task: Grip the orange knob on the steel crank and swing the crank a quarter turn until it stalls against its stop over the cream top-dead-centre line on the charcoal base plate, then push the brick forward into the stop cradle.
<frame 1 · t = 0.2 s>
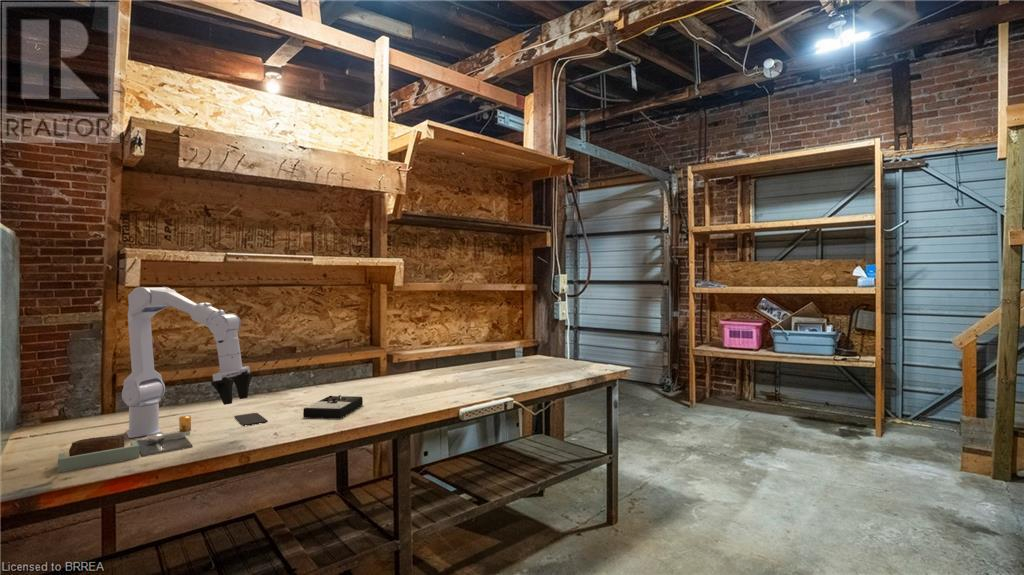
hand: (236, 401, 146), 11 cm above the table, tool pointing down, fingers open, 7 cm apart
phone: (250, 421, 165), on the table
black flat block: (334, 412, 176), on the table
brick: (97, 457, 130), on the table
crank: (169, 428, 142), point 4 cm above the table, hinge at 90.0°
stop cradle: (99, 460, 127), on the table
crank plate: (163, 445, 139), on the table
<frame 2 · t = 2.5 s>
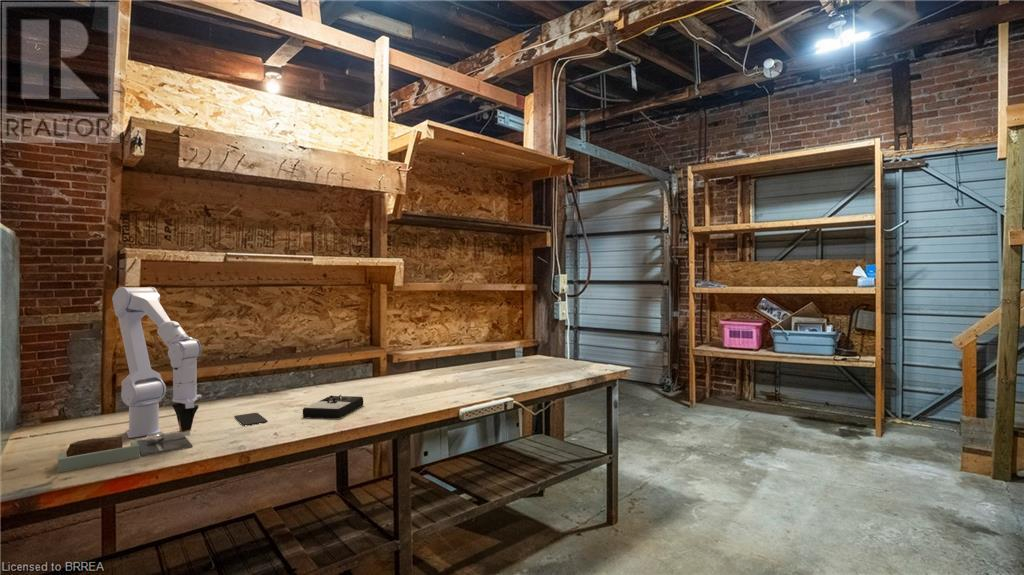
hand: (185, 428, 145), 3 cm above the table, tool pointing down, fingers closed on crank, 3 cm apart
brick: (95, 458, 129), on the table
crank: (169, 428, 142), point 4 cm above the table, hinge at 90.0°, touching gripper
everything else where it was.
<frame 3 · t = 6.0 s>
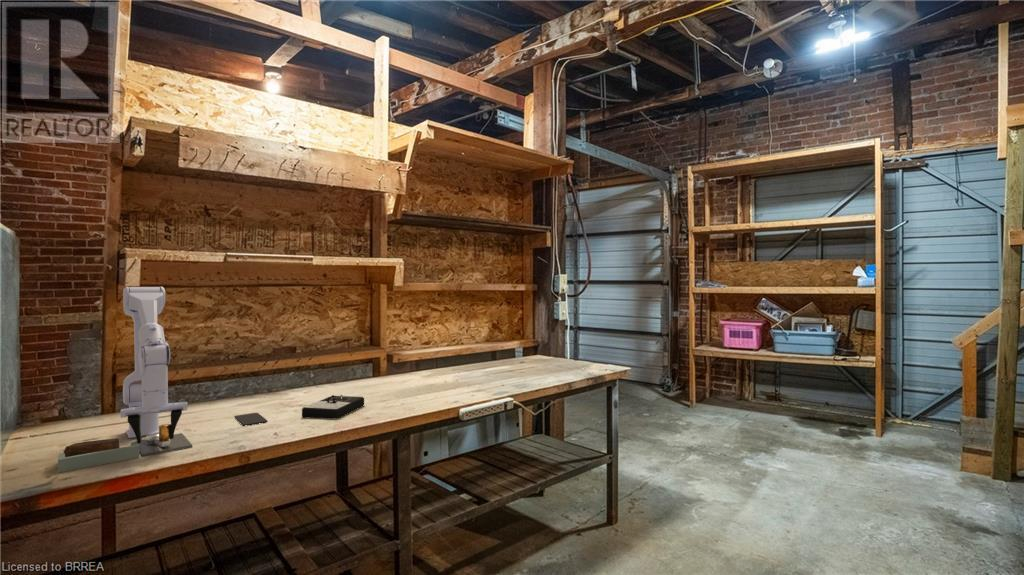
hand: (155, 440, 134), 3 cm above the table, tool pointing down, fingers open, 6 cm apart
brick: (91, 461, 127), on the table
crank: (159, 432, 138), point 4 cm above the table, hinge at 10.3°, touching gripper
everything else where it was.
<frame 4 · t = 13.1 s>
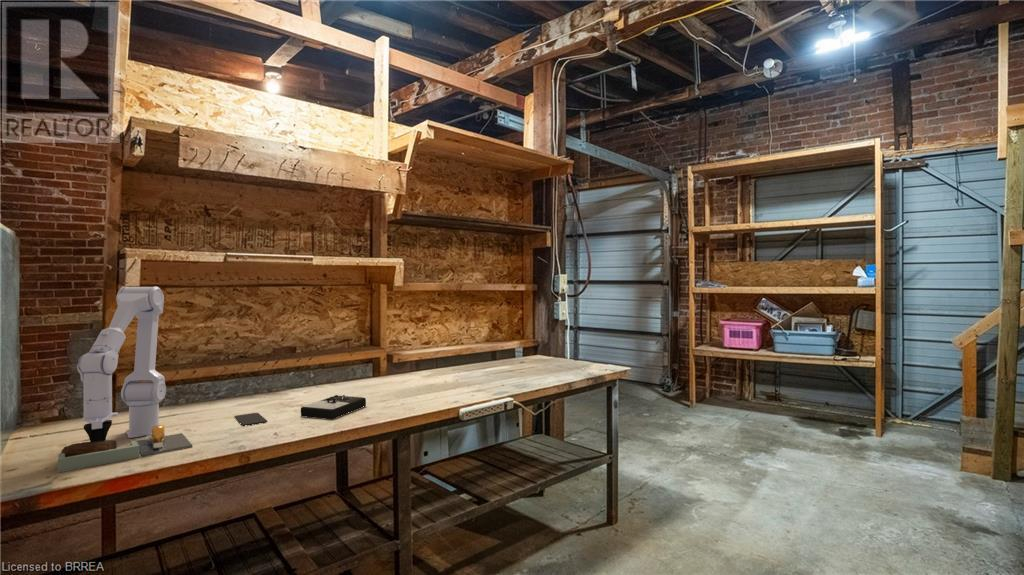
hand: (98, 450, 130), 1 cm above the table, tool pointing down, fingers closed
brick: (89, 462, 126), on the table, touching gripper, stop cradle
crank: (156, 433, 137), point 4 cm above the table, hinge at -3.0°
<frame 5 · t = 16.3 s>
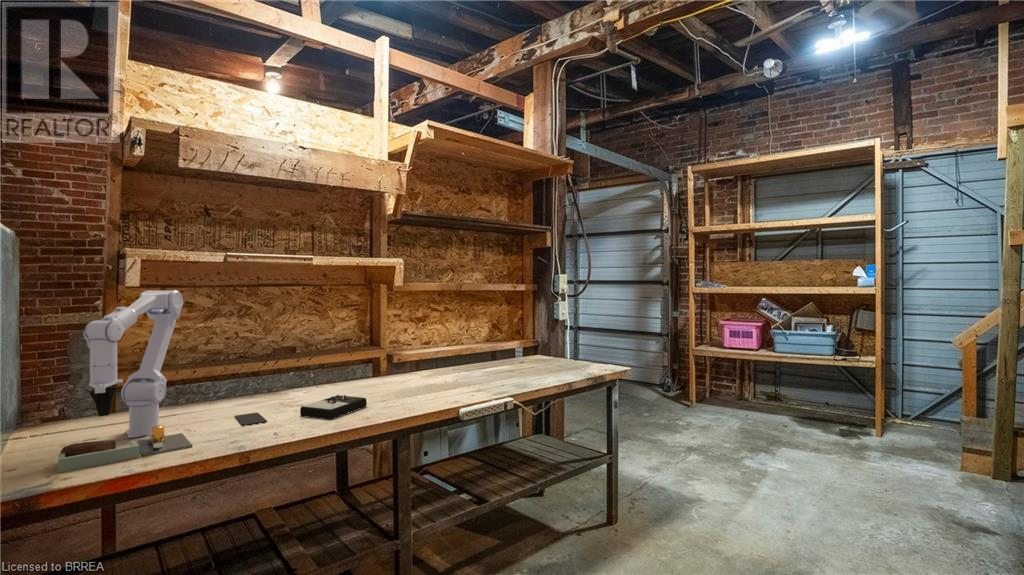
hand: (104, 415, 135), 9 cm above the table, tool pointing down, fingers closed
brick: (88, 462, 126), on the table
at the end: crank at -3° (first picture: +90°); brick 2.2 cm from the target spot, on the table; brick tilted 0° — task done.
